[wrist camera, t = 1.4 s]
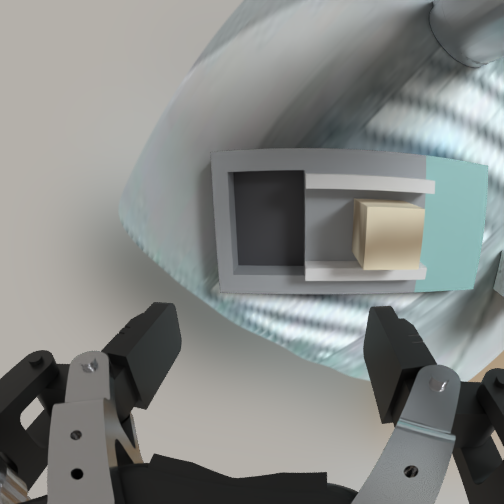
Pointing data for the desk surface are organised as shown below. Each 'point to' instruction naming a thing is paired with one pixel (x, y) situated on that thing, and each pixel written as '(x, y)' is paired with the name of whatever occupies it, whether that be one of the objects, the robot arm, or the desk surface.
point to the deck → (340, 219)
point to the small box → (500, 277)
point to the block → (387, 234)
